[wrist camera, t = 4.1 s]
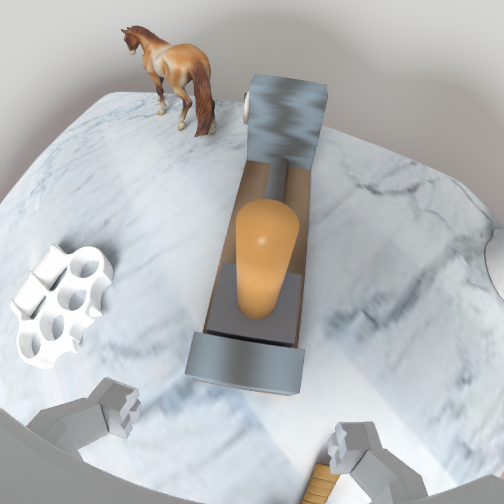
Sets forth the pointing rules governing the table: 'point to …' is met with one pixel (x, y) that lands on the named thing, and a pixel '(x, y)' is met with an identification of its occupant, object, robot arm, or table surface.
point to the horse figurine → (176, 74)
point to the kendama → (320, 485)
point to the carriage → (259, 279)
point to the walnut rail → (280, 189)
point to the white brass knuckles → (59, 302)
